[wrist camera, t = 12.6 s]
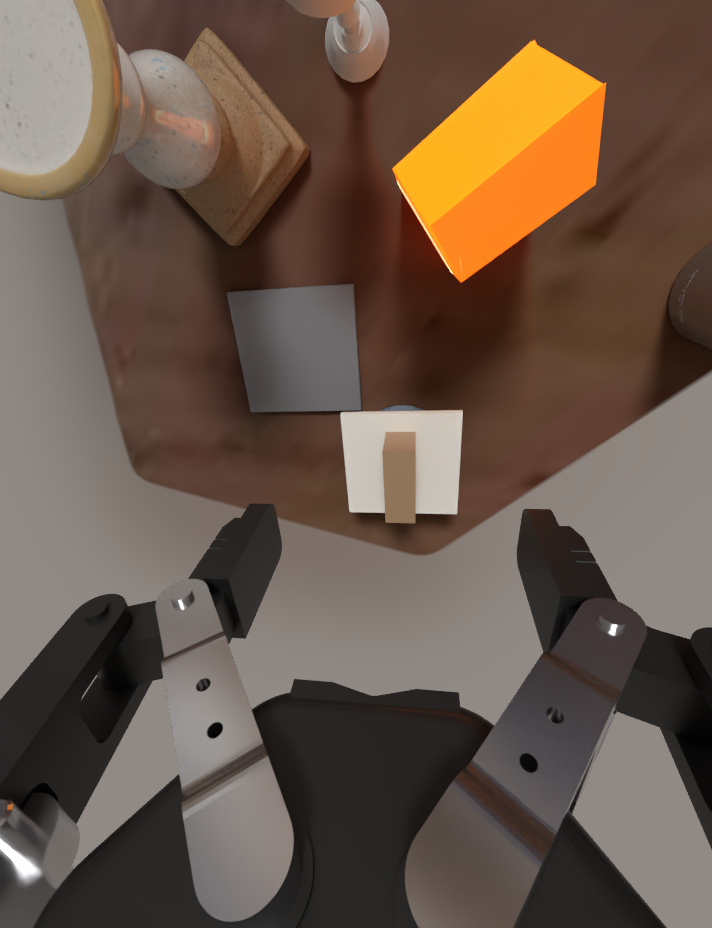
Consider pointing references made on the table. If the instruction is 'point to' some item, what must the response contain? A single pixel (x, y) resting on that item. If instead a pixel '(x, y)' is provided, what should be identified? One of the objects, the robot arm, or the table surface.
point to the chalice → (351, 34)
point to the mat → (298, 348)
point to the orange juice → (505, 159)
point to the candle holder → (137, 116)
